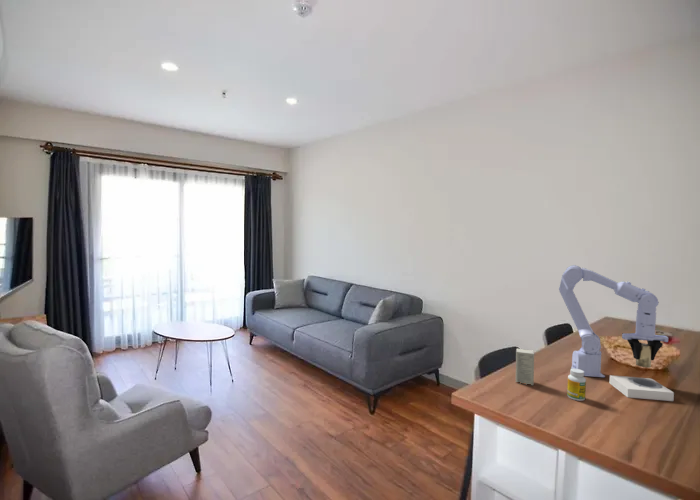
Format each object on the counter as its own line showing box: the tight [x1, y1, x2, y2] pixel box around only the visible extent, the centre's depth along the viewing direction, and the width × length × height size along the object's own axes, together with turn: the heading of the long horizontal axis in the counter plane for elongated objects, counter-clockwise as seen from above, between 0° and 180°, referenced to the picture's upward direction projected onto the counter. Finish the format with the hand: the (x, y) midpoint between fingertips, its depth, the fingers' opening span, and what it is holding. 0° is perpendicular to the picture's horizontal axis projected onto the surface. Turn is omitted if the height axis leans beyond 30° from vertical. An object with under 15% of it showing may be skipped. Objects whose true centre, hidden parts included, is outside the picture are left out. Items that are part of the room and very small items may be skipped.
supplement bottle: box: [566, 368, 587, 402], centre depth 125 cm, size 5×5×10 cm
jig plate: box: [609, 374, 675, 402], centre depth 131 cm, size 14×12×3 cm
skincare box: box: [515, 348, 535, 386], centre depth 138 cm, size 6×4×12 cm
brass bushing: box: [635, 342, 652, 368], centre depth 138 cm, size 4×4×8 cm
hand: (643, 359), depth 138 cm, fingers closed on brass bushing, 4 cm apart
